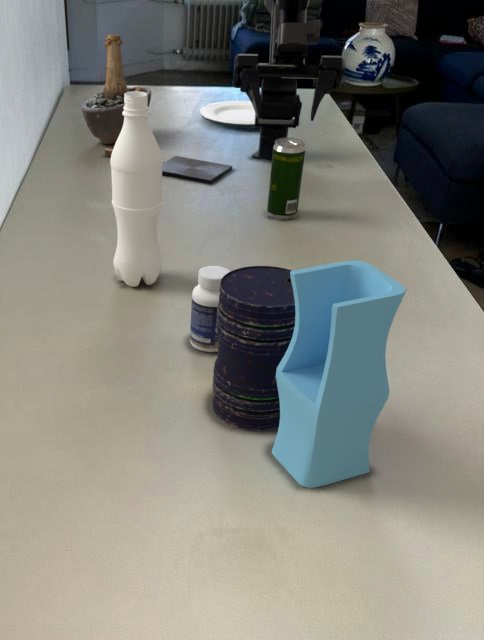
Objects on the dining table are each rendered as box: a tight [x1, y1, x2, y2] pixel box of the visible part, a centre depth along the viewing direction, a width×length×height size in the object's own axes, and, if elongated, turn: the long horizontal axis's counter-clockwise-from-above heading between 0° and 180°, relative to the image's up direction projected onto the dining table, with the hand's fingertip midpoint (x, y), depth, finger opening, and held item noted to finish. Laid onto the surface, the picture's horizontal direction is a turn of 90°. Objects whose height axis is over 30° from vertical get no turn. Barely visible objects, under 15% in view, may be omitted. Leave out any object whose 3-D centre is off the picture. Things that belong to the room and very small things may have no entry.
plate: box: [199, 100, 261, 129], centre depth 180 cm, size 21×21×2 cm
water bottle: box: [109, 91, 164, 288], centre depth 106 cm, size 7×7×25 cm
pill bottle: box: [189, 265, 231, 353], centre depth 96 cm, size 5×5×10 cm
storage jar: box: [211, 265, 296, 432], centre depth 83 cm, size 10×10×15 cm
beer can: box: [266, 137, 306, 220], centre depth 131 cm, size 5×5×12 cm
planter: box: [81, 33, 152, 146], centre depth 161 cm, size 15×17×20 cm
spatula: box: [104, 145, 233, 185], centre depth 154 cm, size 26×10×2 cm, turn 61°
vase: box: [271, 259, 407, 489], centre depth 74 cm, size 8×8×20 cm
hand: (285, 118), depth 132 cm, fingers open, 9 cm apart
